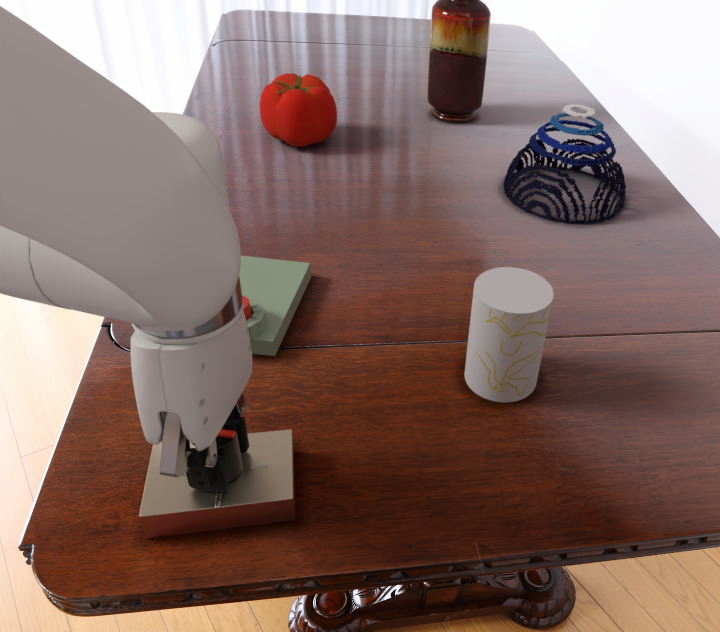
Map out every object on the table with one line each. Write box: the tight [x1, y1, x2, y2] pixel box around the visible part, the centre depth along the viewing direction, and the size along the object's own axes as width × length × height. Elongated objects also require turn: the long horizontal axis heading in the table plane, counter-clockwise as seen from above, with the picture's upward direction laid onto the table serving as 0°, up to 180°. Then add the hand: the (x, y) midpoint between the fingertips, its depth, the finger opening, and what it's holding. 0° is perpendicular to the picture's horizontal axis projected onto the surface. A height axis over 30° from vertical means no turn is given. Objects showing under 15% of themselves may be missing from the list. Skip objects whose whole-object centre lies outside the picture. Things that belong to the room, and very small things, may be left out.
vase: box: [427, 0, 492, 124], centre depth 130 cm, size 11×11×26 cm
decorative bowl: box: [502, 103, 627, 225], centre depth 110 cm, size 20×20×14 cm
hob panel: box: [138, 428, 296, 540], centre depth 60 cm, size 12×8×3 cm, turn 103°
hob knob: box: [192, 420, 243, 483], centre depth 57 cm, size 4×4×5 cm
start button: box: [242, 296, 251, 320], centre depth 74 cm, size 3×3×2 cm
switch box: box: [239, 255, 312, 357], centre depth 80 cm, size 17×9×4 cm, turn 177°
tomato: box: [259, 73, 338, 148], centre depth 119 cm, size 14×13×10 cm
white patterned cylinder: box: [464, 266, 555, 403], centre depth 73 cm, size 8×8×12 cm
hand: (220, 466), depth 59 cm, fingers closed on hob knob, 3 cm apart
